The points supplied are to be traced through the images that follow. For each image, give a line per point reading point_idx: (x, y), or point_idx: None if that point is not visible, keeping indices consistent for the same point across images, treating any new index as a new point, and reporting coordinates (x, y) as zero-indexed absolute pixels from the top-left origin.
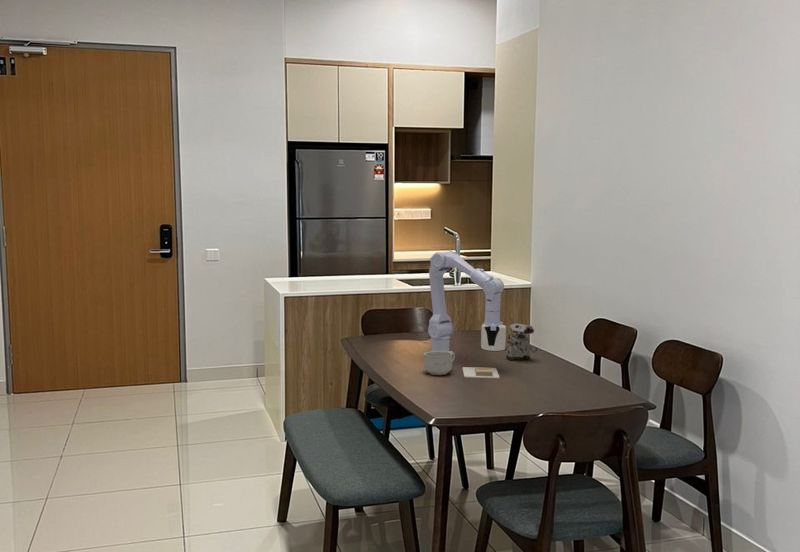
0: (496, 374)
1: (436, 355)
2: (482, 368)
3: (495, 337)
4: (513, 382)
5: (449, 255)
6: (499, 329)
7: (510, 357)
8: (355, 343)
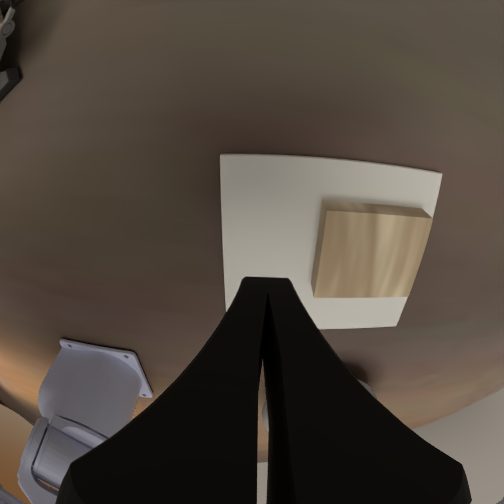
0: (388, 177)
1: None
2: (347, 263)
3: (339, 366)
4: (497, 123)
5: None
6: (457, 500)
7: (9, 82)
8: None
